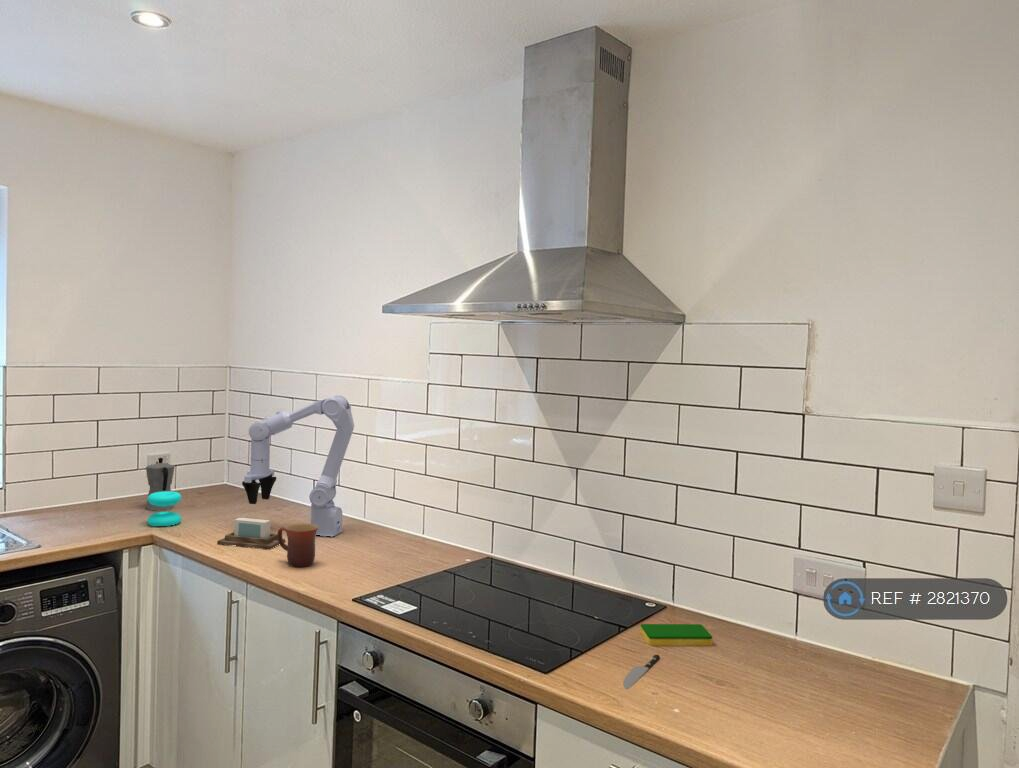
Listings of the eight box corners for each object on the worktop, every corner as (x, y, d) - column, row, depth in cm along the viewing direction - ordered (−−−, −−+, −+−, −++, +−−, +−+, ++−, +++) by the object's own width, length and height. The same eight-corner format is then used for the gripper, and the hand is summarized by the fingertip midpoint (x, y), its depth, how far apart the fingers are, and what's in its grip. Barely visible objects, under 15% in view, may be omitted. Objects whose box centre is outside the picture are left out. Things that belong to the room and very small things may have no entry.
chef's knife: (608, 691, 137) (624, 695, 135) (609, 685, 136) (624, 689, 135) (646, 656, 153) (660, 659, 151) (646, 650, 153) (660, 653, 151)
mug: (323, 562, 207) (324, 525, 207) (304, 570, 199) (305, 532, 199) (287, 556, 211) (288, 520, 211) (267, 564, 203) (268, 527, 203)
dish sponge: (639, 634, 165) (640, 623, 164) (700, 634, 166) (701, 623, 166) (648, 647, 157) (649, 636, 157) (712, 647, 159) (712, 636, 159)
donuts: (163, 489, 248) (188, 492, 245) (163, 519, 248) (187, 522, 245) (140, 494, 239) (165, 497, 235) (139, 525, 239) (165, 529, 236)
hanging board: (285, 542, 226) (285, 533, 226) (269, 549, 217) (269, 541, 217) (234, 537, 230) (234, 528, 230) (217, 544, 221) (217, 535, 221)
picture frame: (269, 540, 224) (270, 520, 224) (264, 542, 221) (264, 522, 221) (239, 537, 226) (240, 517, 226) (234, 539, 223) (234, 519, 223)
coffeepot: (141, 505, 266) (142, 455, 265) (169, 503, 272) (170, 454, 271) (150, 514, 254) (151, 462, 253) (180, 511, 260) (181, 460, 259)
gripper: (260, 455, 245) (260, 496, 246) (235, 461, 231) (234, 504, 232) (280, 456, 244) (279, 497, 244) (256, 463, 230) (255, 506, 230)
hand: (259, 501), depth 238 cm, fingers open, 7 cm apart
